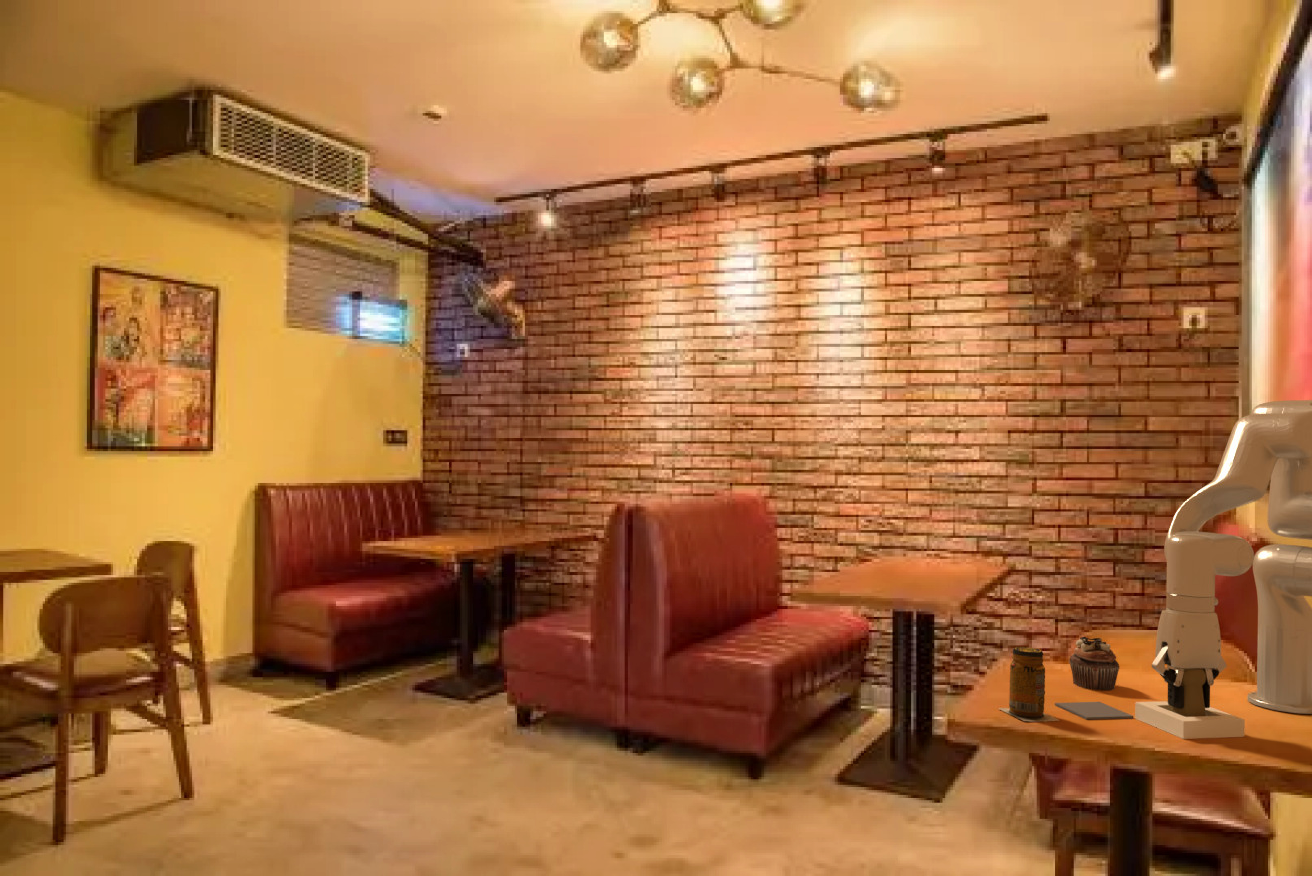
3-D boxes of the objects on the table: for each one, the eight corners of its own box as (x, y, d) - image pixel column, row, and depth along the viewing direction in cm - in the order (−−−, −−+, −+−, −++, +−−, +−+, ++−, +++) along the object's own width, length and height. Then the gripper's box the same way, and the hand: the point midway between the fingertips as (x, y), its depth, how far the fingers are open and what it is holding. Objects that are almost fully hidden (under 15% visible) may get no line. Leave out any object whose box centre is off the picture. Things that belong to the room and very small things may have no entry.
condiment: (1032, 708, 175) (1034, 645, 175) (1060, 721, 167) (1061, 655, 167) (997, 709, 174) (999, 645, 174) (1023, 722, 165) (1025, 655, 165)
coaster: (1099, 703, 179) (1099, 701, 179) (1133, 718, 170) (1133, 715, 170) (1054, 704, 177) (1054, 702, 177) (1086, 719, 168) (1086, 717, 168)
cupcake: (1128, 692, 189) (1129, 643, 189) (1080, 690, 189) (1081, 642, 189) (1106, 680, 198) (1107, 634, 198) (1061, 679, 198) (1061, 632, 199)
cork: (1213, 733, 161) (1214, 670, 161) (1175, 730, 162) (1176, 668, 162) (1200, 723, 167) (1201, 662, 167) (1164, 720, 168) (1165, 660, 168)
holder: (1192, 716, 172) (1192, 700, 172) (1244, 736, 160) (1244, 719, 160) (1135, 718, 169) (1135, 702, 170) (1183, 738, 158) (1183, 721, 158)
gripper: (1215, 600, 170) (1213, 699, 170) (1133, 601, 167) (1132, 701, 167) (1248, 607, 163) (1246, 711, 162) (1163, 608, 160) (1161, 713, 159)
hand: (1188, 705), depth 165 cm, fingers closed on cork, 4 cm apart
